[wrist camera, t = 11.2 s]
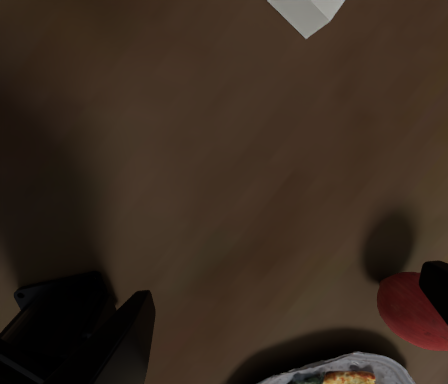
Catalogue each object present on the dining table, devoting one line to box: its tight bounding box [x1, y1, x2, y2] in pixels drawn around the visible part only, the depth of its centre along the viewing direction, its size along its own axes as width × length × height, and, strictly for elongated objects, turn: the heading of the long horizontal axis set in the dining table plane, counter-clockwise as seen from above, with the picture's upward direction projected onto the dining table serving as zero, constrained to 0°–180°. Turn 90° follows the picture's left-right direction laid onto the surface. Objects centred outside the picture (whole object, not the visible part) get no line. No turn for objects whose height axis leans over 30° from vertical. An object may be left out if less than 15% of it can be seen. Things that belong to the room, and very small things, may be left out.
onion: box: [377, 272, 448, 351], centre depth 20 cm, size 6×6×8 cm
